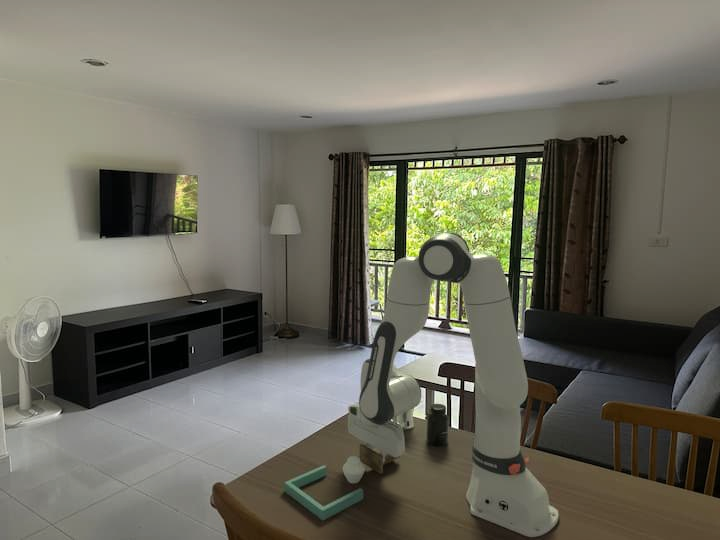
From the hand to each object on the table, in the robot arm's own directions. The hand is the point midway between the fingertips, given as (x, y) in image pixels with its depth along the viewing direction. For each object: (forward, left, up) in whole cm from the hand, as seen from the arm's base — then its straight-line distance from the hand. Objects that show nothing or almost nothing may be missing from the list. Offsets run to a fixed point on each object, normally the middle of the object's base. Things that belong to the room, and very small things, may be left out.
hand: (375, 459), depth 139 cm
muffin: (0, +8, -3) cm, 9 cm away
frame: (0, +18, -3) cm, 18 cm away
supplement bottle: (-1, -27, -3) cm, 27 cm away
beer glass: (+14, -28, -3) cm, 31 cm away
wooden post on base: (0, -4, -2) cm, 4 cm away
